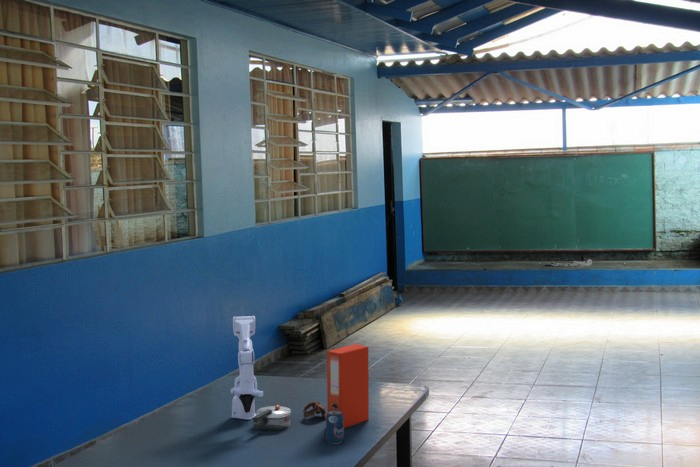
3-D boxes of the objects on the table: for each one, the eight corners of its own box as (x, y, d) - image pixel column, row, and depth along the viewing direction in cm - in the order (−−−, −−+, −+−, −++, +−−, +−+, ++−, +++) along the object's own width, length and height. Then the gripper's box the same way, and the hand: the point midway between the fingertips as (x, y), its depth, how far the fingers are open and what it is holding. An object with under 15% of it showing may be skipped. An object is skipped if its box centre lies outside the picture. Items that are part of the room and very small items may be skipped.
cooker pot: (271, 416, 366) (270, 405, 366) (299, 420, 361) (299, 409, 360) (241, 433, 344) (241, 421, 344) (271, 437, 338) (270, 425, 338)
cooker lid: (266, 406, 364) (266, 401, 364) (297, 410, 358) (297, 404, 358) (239, 421, 343) (239, 415, 343) (271, 425, 337) (271, 419, 337)
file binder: (369, 419, 360) (368, 346, 358) (341, 429, 348) (340, 353, 345) (355, 416, 366) (354, 343, 363) (327, 425, 353) (326, 350, 350)
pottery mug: (327, 422, 359) (318, 407, 356) (308, 431, 361) (299, 416, 358) (329, 407, 370) (320, 393, 368) (311, 416, 372) (302, 401, 370)
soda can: (337, 445, 328) (337, 415, 327) (323, 442, 332) (322, 413, 331) (347, 440, 334) (346, 411, 333) (332, 437, 338) (332, 408, 337)
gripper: (226, 380, 344) (227, 412, 346) (256, 383, 339) (257, 416, 340) (235, 376, 351) (236, 407, 352) (265, 379, 345) (266, 411, 346)
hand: (247, 411), depth 346 cm, fingers closed
